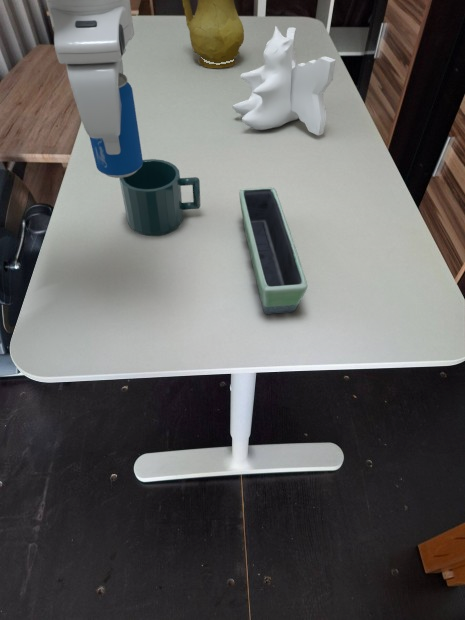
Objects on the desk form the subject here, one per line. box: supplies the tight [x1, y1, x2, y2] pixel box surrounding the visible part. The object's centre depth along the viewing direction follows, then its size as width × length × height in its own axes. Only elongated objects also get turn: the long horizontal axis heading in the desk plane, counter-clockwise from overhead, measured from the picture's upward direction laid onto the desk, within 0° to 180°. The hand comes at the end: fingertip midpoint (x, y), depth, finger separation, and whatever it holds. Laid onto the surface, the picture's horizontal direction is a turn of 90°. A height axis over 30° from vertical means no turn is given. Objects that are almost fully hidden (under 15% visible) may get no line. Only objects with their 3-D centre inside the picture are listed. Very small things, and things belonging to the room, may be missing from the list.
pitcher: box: [181, 0, 245, 69], centre depth 139 cm, size 17×19×25 cm
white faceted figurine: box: [232, 25, 337, 136], centre depth 112 cm, size 25×21×21 cm
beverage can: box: [88, 73, 144, 179], centre depth 59 cm, size 6×6×12 cm
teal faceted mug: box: [119, 158, 201, 237], centre depth 87 cm, size 15×11×10 cm
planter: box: [238, 186, 308, 315], centre depth 79 cm, size 28×7×7 cm, turn 7°
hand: (115, 137), depth 60 cm, fingers closed on beverage can, 6 cm apart
